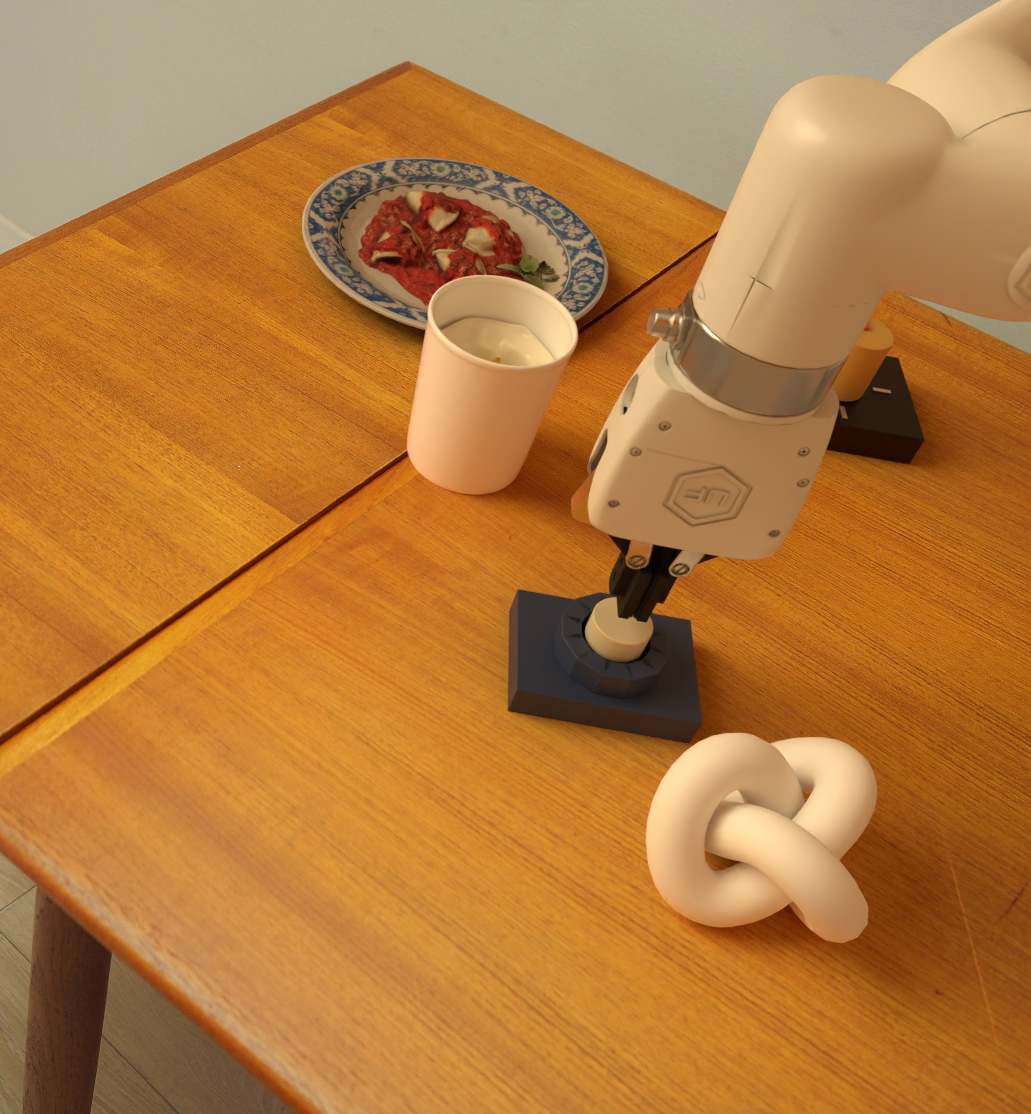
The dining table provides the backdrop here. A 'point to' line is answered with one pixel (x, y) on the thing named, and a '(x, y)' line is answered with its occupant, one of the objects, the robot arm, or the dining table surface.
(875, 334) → the lock knob
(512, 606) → the push button box
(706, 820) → the white knot sculpture
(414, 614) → the dining table surface
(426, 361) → the candle holder
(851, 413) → the black dial base
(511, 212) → the ceramic plate
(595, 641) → the bell button
